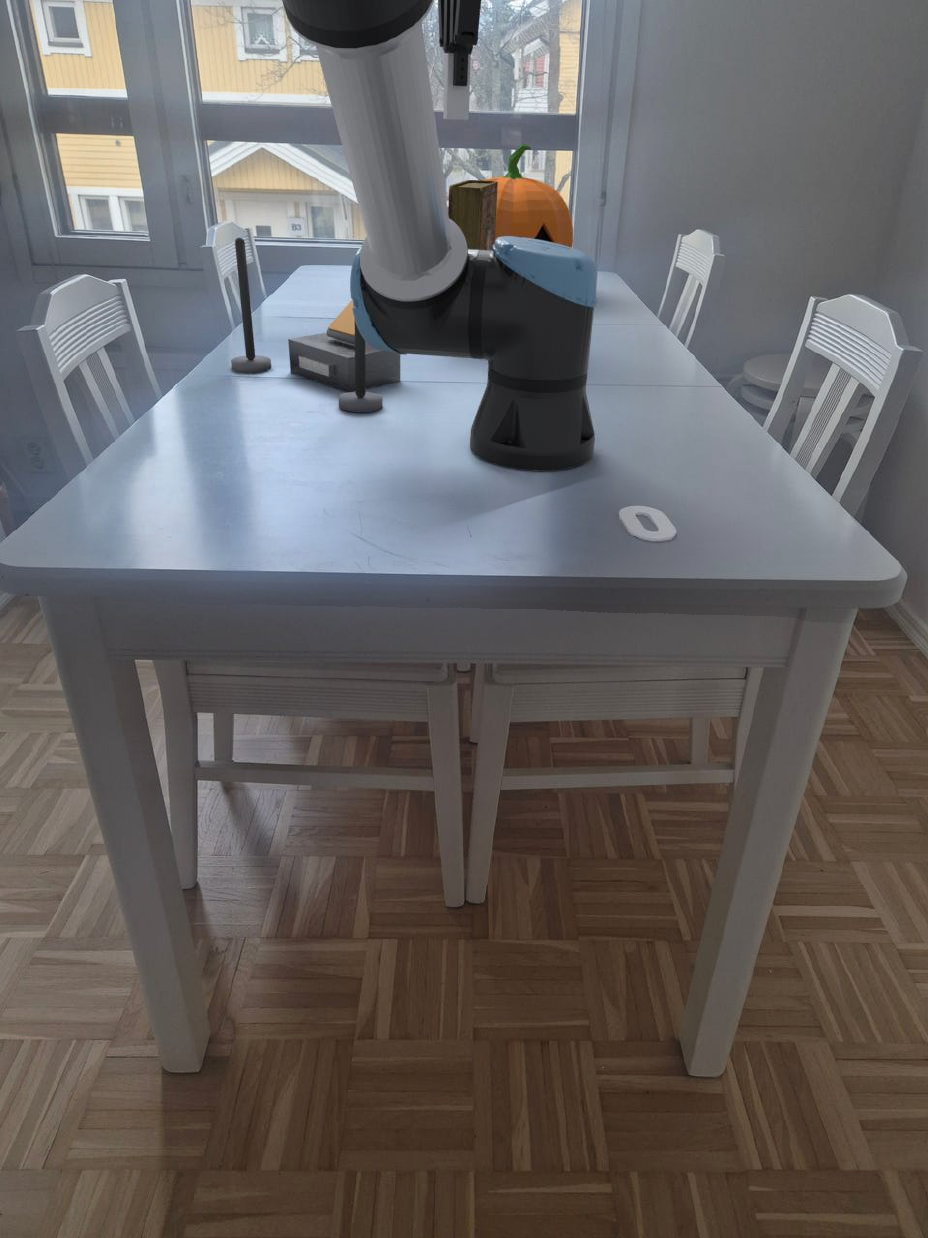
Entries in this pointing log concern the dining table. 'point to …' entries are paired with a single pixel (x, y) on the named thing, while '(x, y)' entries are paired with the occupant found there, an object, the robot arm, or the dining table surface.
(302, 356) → the block
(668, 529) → the chain link
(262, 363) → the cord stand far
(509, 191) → the jack-o'-lantern
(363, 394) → the stand
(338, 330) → the orange rectangular prism
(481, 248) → the book
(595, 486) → the dining table surface
